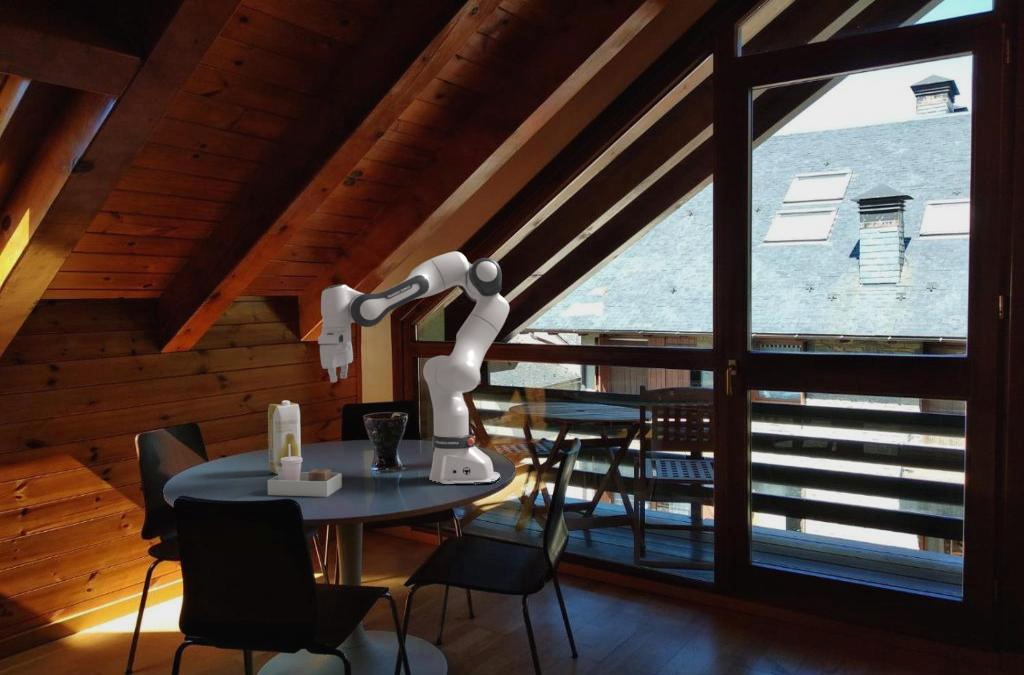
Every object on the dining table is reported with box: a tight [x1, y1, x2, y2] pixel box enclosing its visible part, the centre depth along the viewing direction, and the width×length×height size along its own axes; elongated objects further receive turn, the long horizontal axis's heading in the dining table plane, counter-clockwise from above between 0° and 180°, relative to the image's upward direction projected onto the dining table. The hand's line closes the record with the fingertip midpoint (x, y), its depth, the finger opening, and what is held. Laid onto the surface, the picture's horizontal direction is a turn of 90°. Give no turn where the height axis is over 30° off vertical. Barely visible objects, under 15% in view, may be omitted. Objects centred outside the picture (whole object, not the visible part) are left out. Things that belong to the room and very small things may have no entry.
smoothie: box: [281, 444, 304, 481], centre depth 242 cm, size 6×6×14 cm
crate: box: [267, 471, 343, 498], centre depth 242 cm, size 18×12×5 cm, turn 82°
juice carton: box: [267, 400, 302, 475], centre depth 271 cm, size 9×8×24 cm
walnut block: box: [308, 468, 332, 482], centre depth 242 cm, size 5×5×6 cm
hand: (338, 380), depth 258 cm, fingers open, 8 cm apart
